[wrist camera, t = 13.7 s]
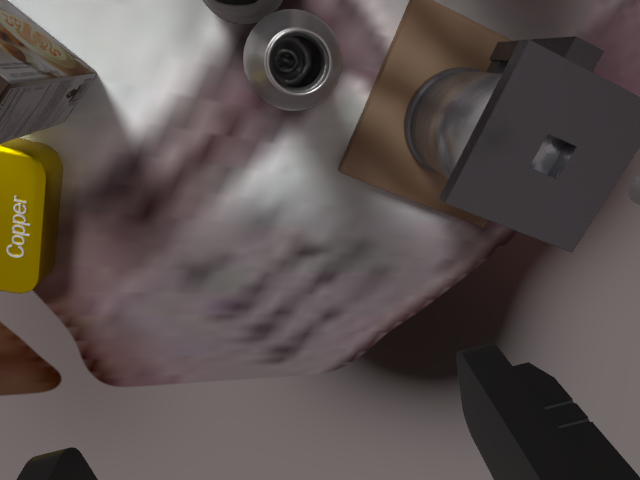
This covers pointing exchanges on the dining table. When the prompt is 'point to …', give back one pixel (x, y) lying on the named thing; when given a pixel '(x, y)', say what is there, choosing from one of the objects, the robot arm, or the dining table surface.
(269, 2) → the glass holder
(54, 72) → the coffee box
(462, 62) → the board
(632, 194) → the plunger
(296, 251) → the dining table surface
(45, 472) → the robot arm
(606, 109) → the press
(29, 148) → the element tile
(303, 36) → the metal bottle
